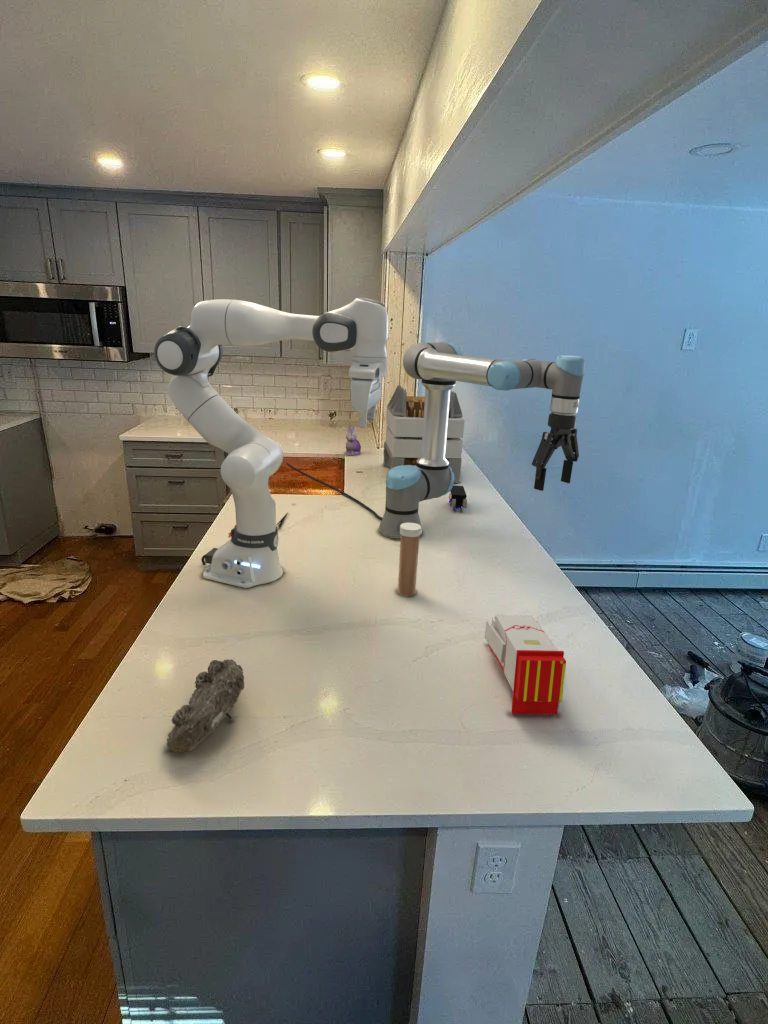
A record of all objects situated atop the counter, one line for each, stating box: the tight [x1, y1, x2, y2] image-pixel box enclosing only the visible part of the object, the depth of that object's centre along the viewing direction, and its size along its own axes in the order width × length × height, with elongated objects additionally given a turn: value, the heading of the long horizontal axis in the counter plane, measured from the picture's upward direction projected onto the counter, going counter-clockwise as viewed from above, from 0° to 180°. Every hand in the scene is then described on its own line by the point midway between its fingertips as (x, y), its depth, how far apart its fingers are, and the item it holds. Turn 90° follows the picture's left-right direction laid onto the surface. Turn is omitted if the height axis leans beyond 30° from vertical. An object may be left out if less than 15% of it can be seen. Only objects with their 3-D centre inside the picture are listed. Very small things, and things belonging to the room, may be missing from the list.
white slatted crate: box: [383, 384, 465, 484], centre depth 268 cm, size 34×33×41 cm
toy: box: [484, 614, 567, 716], centre depth 124 cm, size 12×13×30 cm
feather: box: [276, 513, 288, 529], centre depth 211 cm, size 2×28×2 cm
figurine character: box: [448, 484, 468, 512], centre depth 228 cm, size 7×8×15 cm
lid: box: [400, 523, 421, 537], centre depth 153 cm, size 6×6×2 cm
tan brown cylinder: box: [397, 535, 420, 597], centre depth 156 cm, size 5×5×19 cm
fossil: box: [166, 658, 245, 754], centre depth 106 cm, size 22×10×15 cm
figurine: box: [344, 425, 362, 456], centre depth 303 cm, size 9×10×15 cm
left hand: (367, 423), depth 145 cm, fingers open, 8 cm apart
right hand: (552, 485), depth 166 cm, fingers open, 13 cm apart
